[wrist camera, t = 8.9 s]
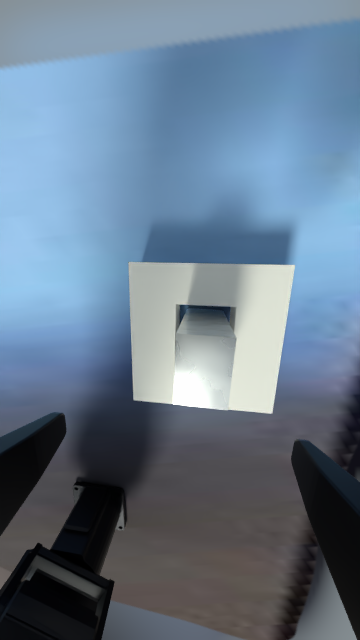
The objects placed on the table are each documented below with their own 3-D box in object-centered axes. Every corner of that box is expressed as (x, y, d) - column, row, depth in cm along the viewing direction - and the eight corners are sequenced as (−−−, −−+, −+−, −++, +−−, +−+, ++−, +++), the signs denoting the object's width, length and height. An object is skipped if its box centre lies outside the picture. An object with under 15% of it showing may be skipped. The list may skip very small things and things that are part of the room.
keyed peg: (222, 310, 18) (236, 338, 10) (218, 356, 19) (227, 413, 11) (187, 307, 18) (176, 333, 11) (185, 353, 20) (172, 406, 12)
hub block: (261, 392, 19) (272, 413, 17) (143, 382, 21) (133, 400, 18) (279, 266, 17) (295, 265, 14) (140, 263, 18) (128, 262, 15)
